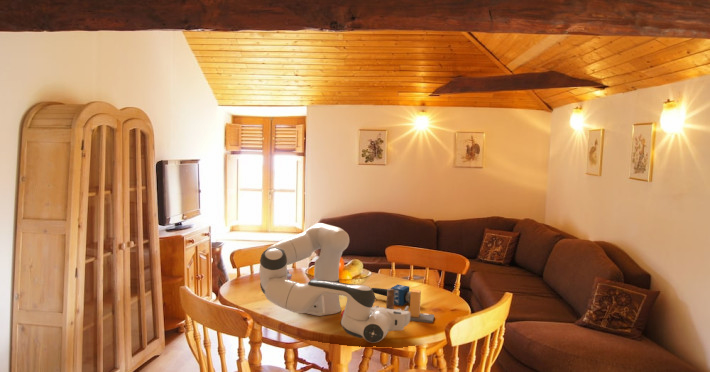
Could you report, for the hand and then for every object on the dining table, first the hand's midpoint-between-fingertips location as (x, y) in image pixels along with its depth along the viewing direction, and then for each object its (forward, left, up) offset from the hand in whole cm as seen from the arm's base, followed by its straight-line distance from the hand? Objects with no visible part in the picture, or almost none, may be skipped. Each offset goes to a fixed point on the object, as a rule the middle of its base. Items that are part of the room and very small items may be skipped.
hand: (388, 309), depth 208 cm
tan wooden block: (+9, +16, -7) cm, 20 cm away
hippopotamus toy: (-68, +46, -8) cm, 83 cm away
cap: (-16, 0, -8) cm, 18 cm away
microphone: (-3, +36, -8) cm, 37 cm away
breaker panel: (+11, +16, -8) cm, 21 cm away
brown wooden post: (0, +6, -7) cm, 10 cm away
